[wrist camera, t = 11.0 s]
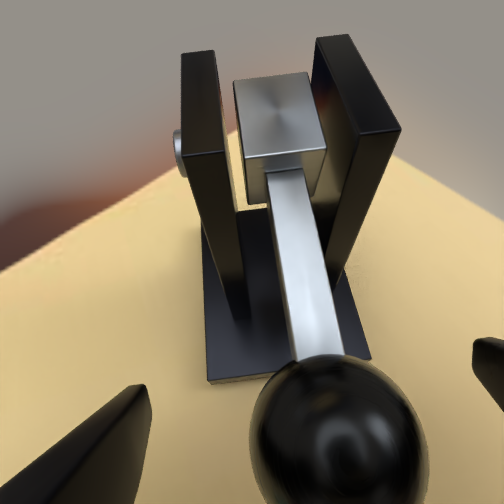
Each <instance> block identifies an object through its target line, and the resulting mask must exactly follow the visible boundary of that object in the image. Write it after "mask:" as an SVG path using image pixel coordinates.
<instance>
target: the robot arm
mask: <svg viewBox="0 0 504 504" xmlns="http://www.w3.org/2000/svg"><path fill="white" fill-rule="evenodd" d="M472 369H473V372H474V374H475V375H476V377H477V378H478V379H479V381H480V382H481V383H482V385H483V386H484V387H485V389H486V390H487V391H488V392H489V394H490V395H491V396H492V398H493V399H494V400H495V402H496V403H497V404H498V405H499V407H500V408H501V409H502V411H503V412H504V340H501V339H497V338H493V337H486V338H479V339H476V340H475V341H474V342H473V352H472ZM151 421H152V408H151V404H150V399H149V395H148V391H147V388H146V386H145V385H144V384H137V385H130V386H128V387H127V388H126V389H124V390H123V391H122V392H120V393H119V394H118V395H117V396H115V397H114V398H113V399H112V400H110V401H109V402H108V403H107V404H105V405H104V406H103V407H102V408H100V409H99V410H98V411H96V412H95V413H94V414H93V415H91V416H90V417H89V418H88V419H86V420H85V421H84V422H83V423H81V424H80V425H79V426H77V427H76V428H75V429H74V430H72V431H71V432H70V433H69V434H67V435H66V436H65V437H64V438H62V439H61V440H60V441H58V442H57V443H56V444H55V445H53V446H52V447H51V448H50V449H48V450H47V451H46V452H45V453H43V454H42V455H41V456H39V457H38V458H37V459H36V460H34V461H33V462H32V463H31V464H29V465H28V466H27V467H26V468H24V469H23V470H22V471H21V472H19V473H18V474H17V475H15V476H14V477H13V478H12V479H10V480H9V481H8V482H7V483H5V484H4V485H3V486H2V487H0V504H134V501H135V498H136V494H137V491H138V487H139V483H140V479H141V475H142V470H143V465H144V459H145V454H146V448H147V443H148V438H149V432H150V427H151Z"/></svg>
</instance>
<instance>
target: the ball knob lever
mask: <svg viewBox="0 0 504 504" xmlns="http://www.w3.org/2000/svg"><path fill="white" fill-rule="evenodd" d="M233 91H234V101H235V110H236V119H237V130H238V139H239V146H240V154H241V161H242V168H243V175H244V183H245V190H246V197H247V203H248V205H253V204H261V203H267V210H268V216H269V222H270V228H271V234H272V240H273V246H274V252H275V259H276V265H277V271H278V277H279V283H280V289H281V295H282V302H283V308H284V314H285V320H286V326H287V332H288V338H289V344H290V351H291V357H292V361H290V362H288V363H287V364H285V365H284V366H283V367H281V368H280V369H279V370H278V371H277V372H276V373H275V374H274V375H273V376H272V377H271V378H270V379H269V380H268V382H267V383H266V384H265V386H264V388H263V389H262V391H261V392H260V394H259V397H258V399H257V401H256V403H255V406H254V410H253V413H252V417H251V422H250V430H249V450H250V458H251V464H252V469H253V473H254V476H255V480H256V482H257V485H258V487H259V490H260V492H261V494H262V496H263V498H264V500H265V501H266V503H267V504H424V501H425V497H426V493H427V490H428V482H429V454H428V446H427V442H426V438H425V434H424V431H423V428H422V425H421V422H420V420H419V418H418V416H417V414H416V412H415V410H414V408H413V407H412V405H411V403H410V402H409V400H408V399H407V397H406V396H405V394H404V393H403V392H402V391H401V389H400V388H399V387H398V386H397V385H396V384H395V383H394V382H393V381H392V380H391V379H390V378H389V377H388V376H387V375H386V374H384V373H383V372H382V371H381V370H379V369H378V368H376V367H374V366H373V365H371V364H370V363H368V362H366V361H364V360H362V359H360V358H357V357H354V356H351V355H348V354H345V351H344V346H343V342H342V337H341V333H340V328H339V324H338V319H337V315H336V310H335V306H334V302H333V297H332V293H331V288H330V284H329V279H328V275H327V270H326V266H325V261H324V257H323V252H322V248H321V243H320V239H319V234H318V230H317V225H316V221H315V217H314V212H313V208H312V203H311V199H310V197H313V196H314V194H315V191H316V187H317V184H318V180H319V177H320V173H321V170H322V166H323V163H324V159H325V156H326V152H327V149H328V147H327V144H326V140H325V136H324V132H323V128H322V125H321V121H320V117H319V113H318V110H317V106H316V102H315V98H314V94H313V91H312V87H311V83H310V80H309V76H308V73H307V72H300V73H291V74H284V75H275V76H267V77H259V78H251V79H242V80H235V81H233Z"/></svg>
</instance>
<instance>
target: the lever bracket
mask: <svg viewBox="0 0 504 504" xmlns="http://www.w3.org/2000/svg"><path fill="white" fill-rule="evenodd" d="M311 87H312V91H313V94H314V98H315V102H316V106H317V110H318V113H319V117H320V121H321V125H322V128H323V132H324V136H325V140H326V144H327V147H328V149H327V152H326V156H325V159H324V163H323V166H322V170H321V173H320V177H319V180H318V184H317V187H316V191H315V194H314V196H313V197H310V199H311V203H312V208H313V212H314V217H315V221H316V225H317V230H318V234H319V239H320V243H321V248H322V252H323V257H324V261H325V266H326V270H327V275H328V279H329V284H330V288H331V293H332V297H333V302H334V306H335V310H336V315H337V319H338V324H339V328H340V333H341V337H342V342H343V346H344V351H345V354H348V355H351V356H354V357H357V358H360V359H362V360H364V361H366V362H368V361H370V360H371V359H372V357H371V354H370V351H369V348H368V344H367V341H366V338H365V335H364V331H363V328H362V325H361V322H360V318H359V315H358V312H357V309H356V305H355V302H354V299H353V296H352V292H351V289H350V286H349V283H348V279H347V276H346V273H345V270H344V266H345V264H346V262H347V259H348V257H349V254H350V252H351V250H352V247H353V245H354V243H355V240H356V238H357V235H358V233H359V231H360V228H361V226H362V224H363V221H364V219H365V216H366V214H367V212H368V209H369V207H370V205H371V202H372V200H373V197H374V195H375V193H376V190H377V188H378V185H379V183H380V181H381V178H382V176H383V174H384V171H385V169H386V166H387V164H388V162H389V159H390V157H391V155H392V152H393V150H394V147H395V145H396V142H397V140H398V138H399V135H400V133H401V126H400V125H399V123H398V121H397V119H396V117H395V116H394V114H393V112H392V110H391V109H390V107H389V105H388V103H387V102H386V100H385V98H384V96H383V94H382V93H381V91H380V89H379V87H378V86H377V84H376V82H375V80H374V79H373V77H372V75H371V73H370V71H369V69H368V68H367V66H366V64H365V62H364V61H363V59H362V57H361V55H360V54H359V52H358V50H357V48H356V46H355V45H354V43H353V41H352V39H351V38H350V36H349V35H348V34H342V35H334V36H325V37H318V38H316V42H315V51H314V60H313V69H312V78H311ZM173 144H174V152H175V157H176V162H177V166H178V169H179V172H180V174H181V176H182V177H184V178H185V177H187V178H188V181H189V184H190V187H191V190H192V193H193V196H194V199H195V203H196V206H197V209H198V212H199V215H200V218H201V242H202V266H203V291H204V315H205V340H206V364H207V381H208V382H209V383H210V384H211V385H214V384H221V383H229V382H236V381H244V380H251V379H258V378H266V377H272V376H273V375H274V374H275V373H276V372H277V371H278V370H279V369H280V368H281V367H283V366H284V365H285V364H287V363H288V362H290V361H292V357H291V351H290V344H289V338H288V332H287V326H286V320H285V314H284V308H283V302H282V295H281V289H280V283H279V277H278V271H277V265H276V259H275V252H274V246H273V240H272V234H271V228H270V222H269V216H268V210H267V208H261V209H253V210H245V211H238V207H237V200H236V194H235V187H234V180H233V173H232V166H231V160H230V153H229V146H228V139H227V132H226V125H225V119H224V112H223V105H222V98H221V91H220V84H219V78H218V71H217V65H216V57H215V52H214V50H206V51H198V52H190V53H183V54H181V129H178V130H175V131H174V133H173Z"/></svg>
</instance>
